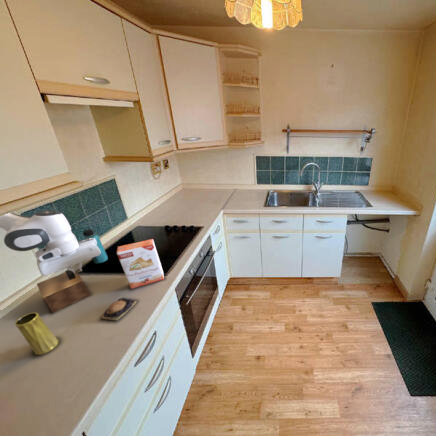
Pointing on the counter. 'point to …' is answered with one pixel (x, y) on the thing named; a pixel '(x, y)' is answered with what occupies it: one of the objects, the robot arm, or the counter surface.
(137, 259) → the cracker box
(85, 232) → the beverage bottle
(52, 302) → the box
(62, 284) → the lid
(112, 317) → the brown oval piece
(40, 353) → the vase
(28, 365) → the counter surface
